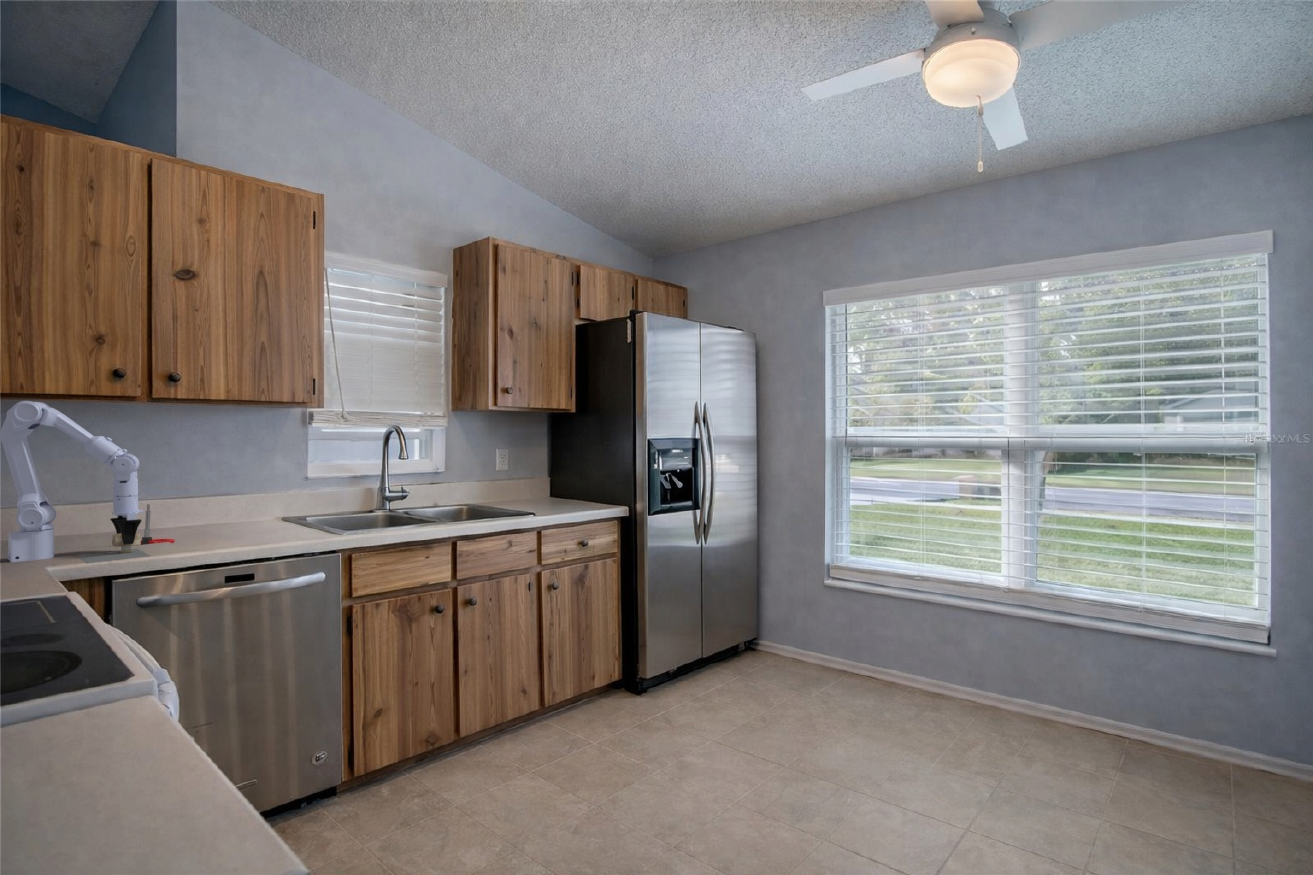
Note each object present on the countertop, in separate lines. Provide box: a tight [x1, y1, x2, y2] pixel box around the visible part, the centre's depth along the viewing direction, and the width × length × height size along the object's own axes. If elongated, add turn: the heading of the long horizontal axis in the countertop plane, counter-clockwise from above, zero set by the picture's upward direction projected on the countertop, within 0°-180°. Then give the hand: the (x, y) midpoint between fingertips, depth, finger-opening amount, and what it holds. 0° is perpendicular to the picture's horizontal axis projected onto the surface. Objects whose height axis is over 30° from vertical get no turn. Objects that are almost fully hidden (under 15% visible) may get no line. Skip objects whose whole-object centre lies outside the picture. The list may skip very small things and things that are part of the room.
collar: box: [111, 531, 142, 548], centre depth 198 cm, size 6×6×3 cm
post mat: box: [76, 545, 152, 564], centre depth 193 cm, size 14×16×4 cm
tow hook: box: [139, 503, 176, 546], centre depth 220 cm, size 8×13×9 cm
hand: (126, 542), depth 198 cm, fingers closed on collar, 6 cm apart
